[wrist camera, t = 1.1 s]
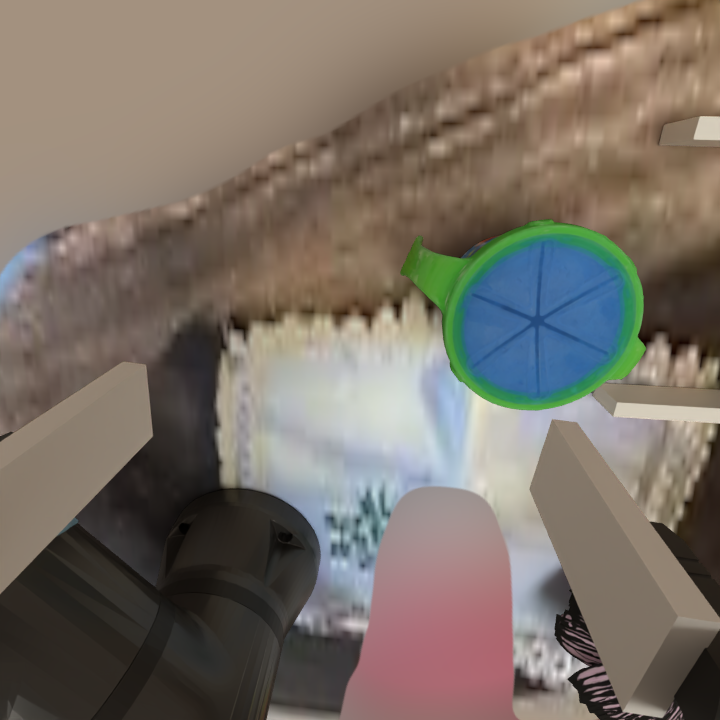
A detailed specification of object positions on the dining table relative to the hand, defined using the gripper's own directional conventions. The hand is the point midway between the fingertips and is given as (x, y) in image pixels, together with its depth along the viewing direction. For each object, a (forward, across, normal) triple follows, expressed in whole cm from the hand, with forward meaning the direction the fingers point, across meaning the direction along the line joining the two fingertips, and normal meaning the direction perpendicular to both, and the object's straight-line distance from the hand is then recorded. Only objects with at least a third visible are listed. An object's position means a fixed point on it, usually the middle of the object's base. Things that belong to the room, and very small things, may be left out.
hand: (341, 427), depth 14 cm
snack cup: (+21, -9, -1) cm, 23 cm away
